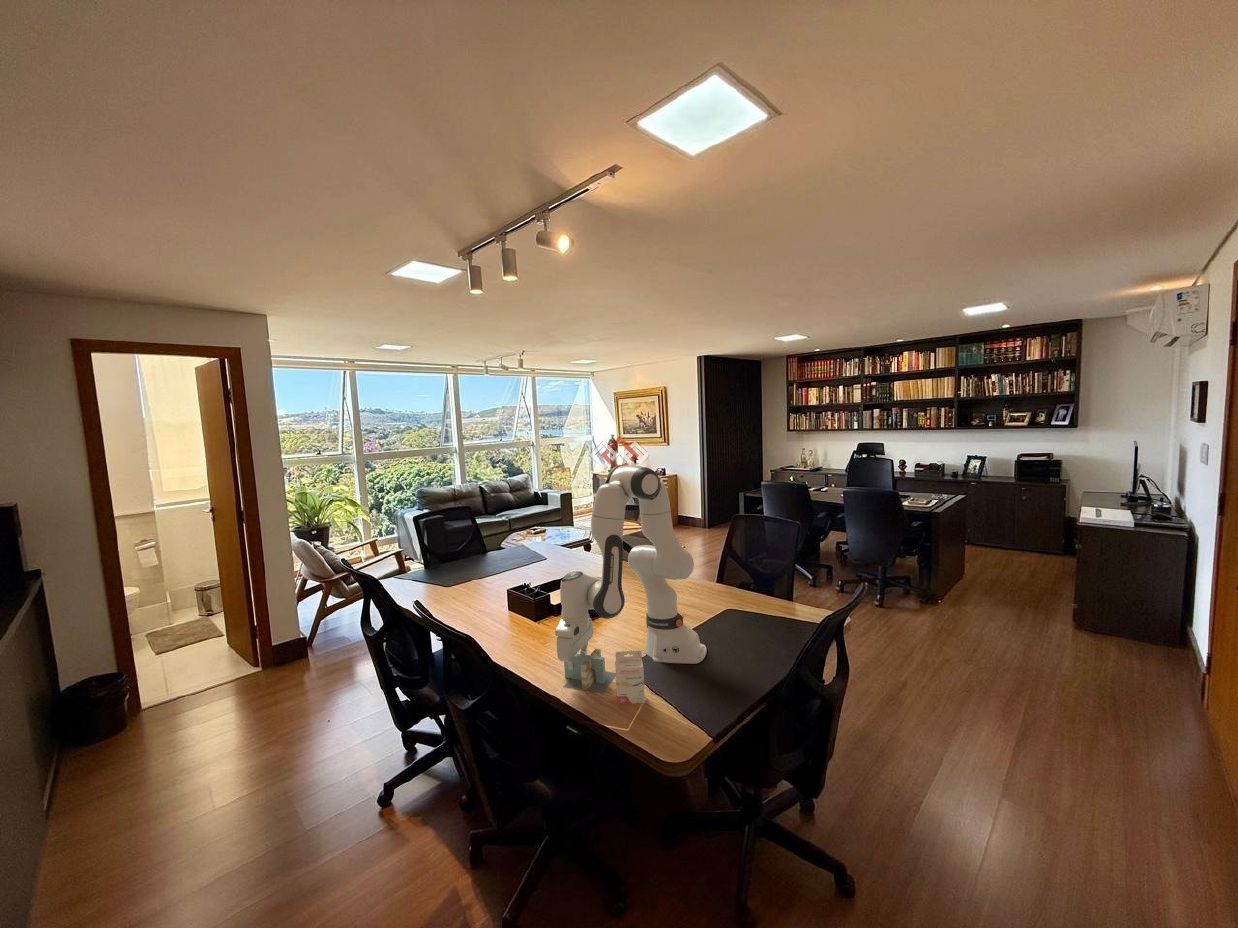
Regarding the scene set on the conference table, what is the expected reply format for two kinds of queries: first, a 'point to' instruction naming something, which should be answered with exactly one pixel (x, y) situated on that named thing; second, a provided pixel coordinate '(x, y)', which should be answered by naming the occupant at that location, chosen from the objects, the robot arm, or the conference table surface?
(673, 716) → the conference table surface
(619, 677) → the ink cartridge box
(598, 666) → the teal plate
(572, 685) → the felt mat
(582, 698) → the conference table surface
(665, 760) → the conference table surface
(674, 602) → the robot arm
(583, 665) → the stone wall model
